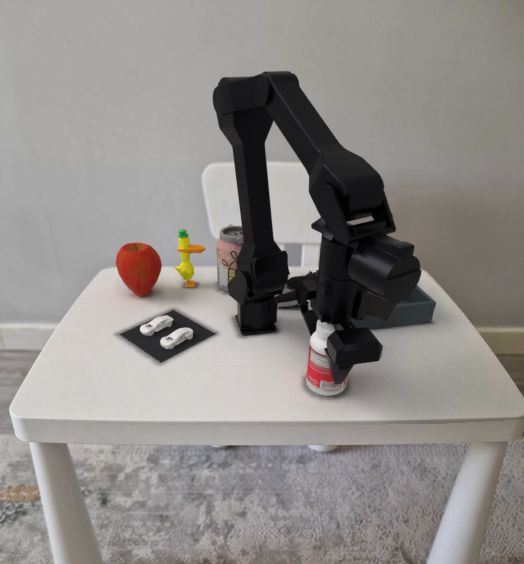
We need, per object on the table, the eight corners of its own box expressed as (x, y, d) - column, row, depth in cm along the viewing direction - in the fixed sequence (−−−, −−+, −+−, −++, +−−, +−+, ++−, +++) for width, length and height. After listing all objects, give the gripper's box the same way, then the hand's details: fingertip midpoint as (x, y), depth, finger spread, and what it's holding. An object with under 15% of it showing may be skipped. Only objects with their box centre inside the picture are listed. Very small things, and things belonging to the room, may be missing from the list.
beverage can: (255, 274, 101) (256, 221, 94) (265, 292, 94) (267, 236, 87) (214, 279, 99) (211, 225, 92) (222, 297, 92) (220, 240, 85)
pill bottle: (325, 367, 74) (333, 307, 67) (354, 386, 70) (365, 325, 63) (297, 382, 70) (302, 321, 64) (326, 403, 66) (334, 340, 60)
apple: (167, 284, 96) (161, 235, 90) (161, 304, 89) (154, 252, 83) (126, 284, 96) (118, 235, 90) (117, 304, 89) (107, 252, 83)
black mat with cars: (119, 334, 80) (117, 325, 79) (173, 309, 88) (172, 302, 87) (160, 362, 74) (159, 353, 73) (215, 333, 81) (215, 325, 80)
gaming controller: (281, 319, 89) (308, 303, 85) (267, 302, 89) (293, 284, 84) (299, 295, 98) (323, 279, 93) (286, 279, 97) (310, 262, 92)
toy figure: (208, 281, 98) (205, 227, 91) (206, 289, 95) (203, 234, 88) (176, 281, 98) (171, 226, 91) (174, 288, 95) (168, 233, 88)
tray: (344, 332, 82) (347, 311, 80) (314, 288, 96) (316, 269, 94) (431, 322, 86) (436, 302, 83) (389, 281, 99) (393, 263, 97)
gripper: (433, 298, 53) (407, 399, 62) (368, 240, 68) (354, 328, 77) (344, 308, 51) (330, 411, 60) (297, 245, 66) (291, 335, 75)
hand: (328, 366), depth 68 cm, fingers closed on pill bottle, 8 cm apart
